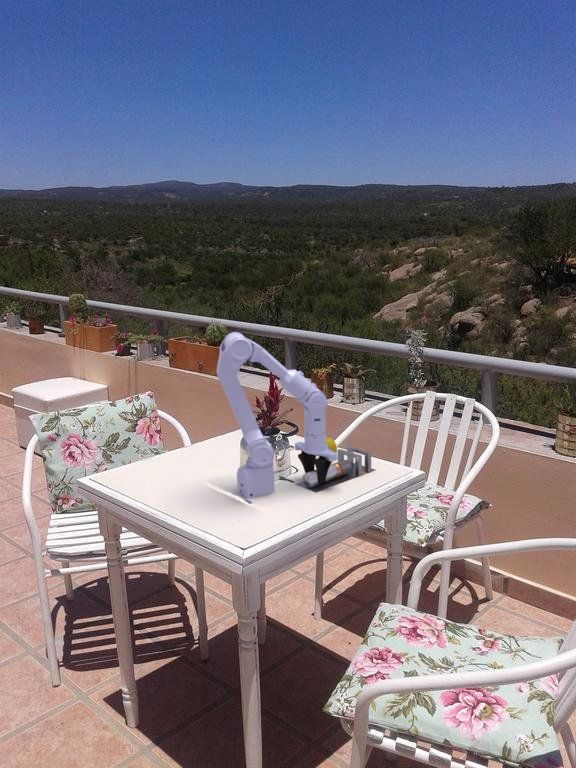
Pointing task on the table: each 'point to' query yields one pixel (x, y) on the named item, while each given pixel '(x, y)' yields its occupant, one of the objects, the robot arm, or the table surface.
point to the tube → (333, 472)
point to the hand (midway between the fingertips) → (316, 480)
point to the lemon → (331, 444)
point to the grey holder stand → (355, 472)
